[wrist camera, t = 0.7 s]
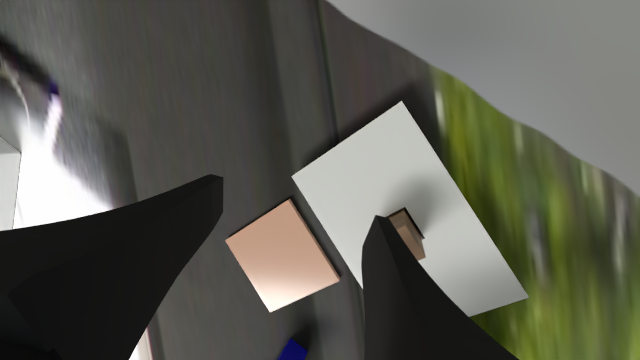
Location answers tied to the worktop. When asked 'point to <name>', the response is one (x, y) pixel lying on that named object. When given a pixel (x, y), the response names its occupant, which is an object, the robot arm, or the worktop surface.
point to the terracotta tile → (282, 257)
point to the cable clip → (292, 351)
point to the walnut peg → (408, 232)
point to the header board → (420, 201)
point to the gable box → (8, 183)
